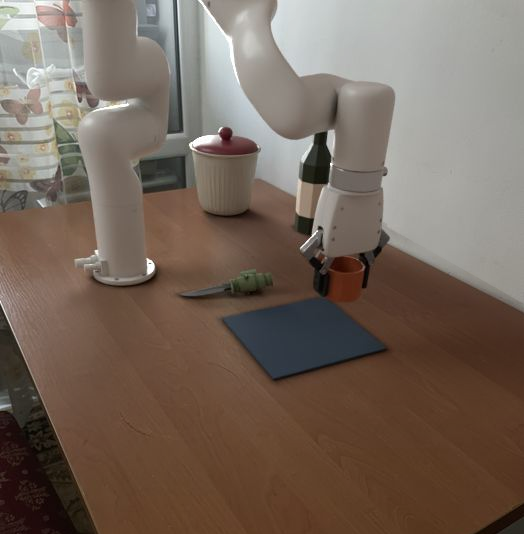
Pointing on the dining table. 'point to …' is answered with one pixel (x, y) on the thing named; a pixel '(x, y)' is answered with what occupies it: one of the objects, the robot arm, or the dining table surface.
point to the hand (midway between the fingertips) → (340, 288)
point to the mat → (301, 336)
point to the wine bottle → (312, 181)
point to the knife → (238, 284)
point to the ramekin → (345, 279)
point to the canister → (225, 171)
